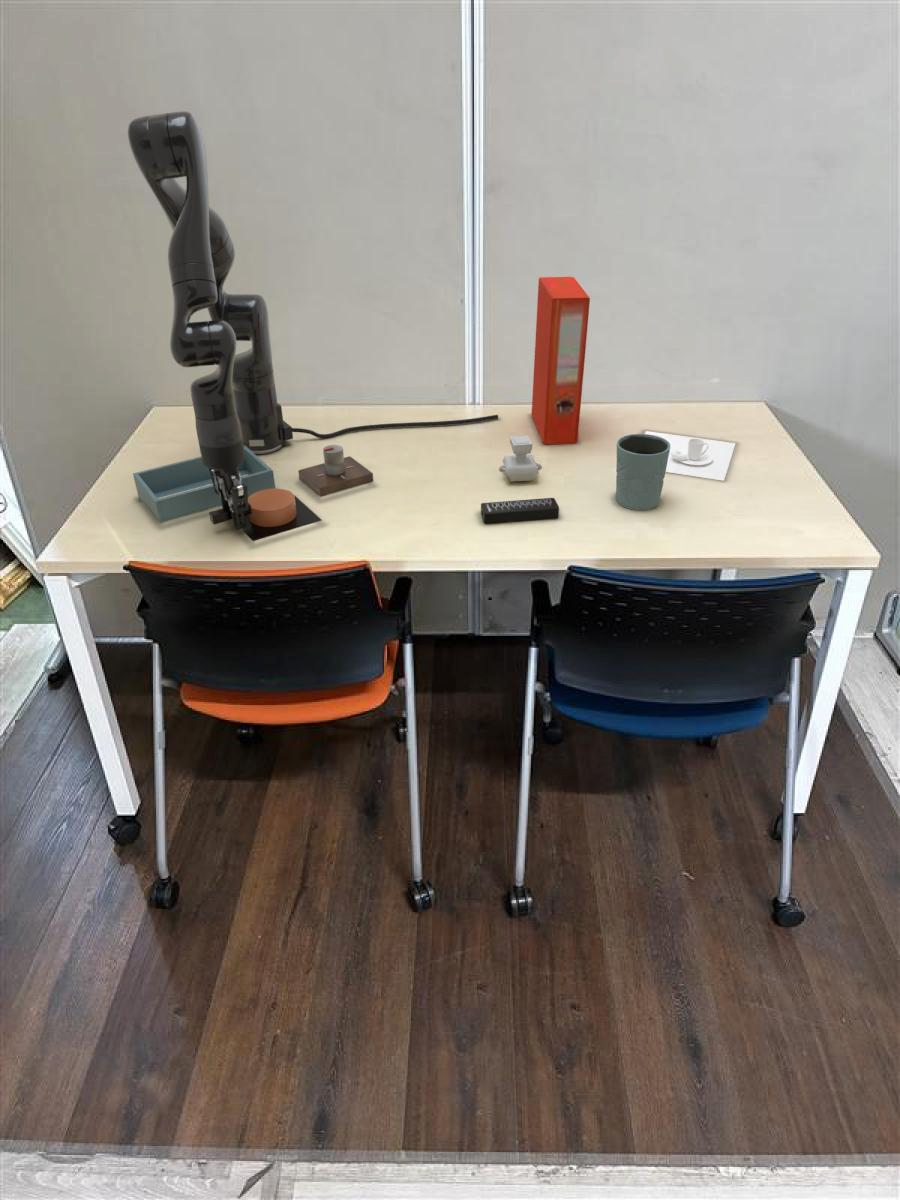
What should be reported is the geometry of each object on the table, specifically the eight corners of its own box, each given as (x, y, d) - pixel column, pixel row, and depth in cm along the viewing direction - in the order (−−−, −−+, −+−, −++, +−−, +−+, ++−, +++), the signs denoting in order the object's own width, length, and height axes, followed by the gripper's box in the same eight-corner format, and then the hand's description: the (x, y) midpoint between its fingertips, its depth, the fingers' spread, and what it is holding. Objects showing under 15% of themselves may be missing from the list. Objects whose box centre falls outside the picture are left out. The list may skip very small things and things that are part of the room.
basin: (248, 469, 184) (245, 445, 181) (276, 495, 174) (272, 470, 170) (138, 498, 173) (132, 473, 170) (161, 527, 163) (155, 501, 160)
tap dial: (339, 465, 178) (337, 441, 175) (348, 472, 175) (346, 448, 172) (322, 470, 176) (319, 446, 173) (330, 477, 173) (328, 453, 170)
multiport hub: (559, 518, 164) (559, 507, 163) (484, 524, 162) (484, 513, 161) (553, 507, 167) (554, 497, 166) (480, 513, 166) (480, 502, 165)
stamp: (500, 486, 176) (501, 447, 171) (496, 472, 181) (497, 434, 176) (544, 483, 176) (546, 445, 171) (538, 469, 182) (540, 432, 177)
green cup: (631, 516, 164) (638, 458, 157) (600, 495, 172) (605, 439, 165) (673, 504, 168) (682, 447, 161) (641, 484, 175) (648, 429, 169)
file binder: (564, 414, 207) (573, 276, 189) (578, 443, 193) (590, 297, 175) (531, 415, 206) (537, 277, 188) (543, 444, 192) (550, 298, 174)
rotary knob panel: (351, 468, 183) (349, 455, 181) (373, 486, 176) (372, 472, 175) (299, 483, 178) (298, 469, 176) (321, 501, 171) (319, 487, 169)
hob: (292, 497, 173) (291, 492, 172) (322, 525, 163) (322, 520, 162) (225, 516, 166) (224, 511, 166) (253, 546, 157) (252, 541, 156)
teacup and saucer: (667, 463, 183) (670, 445, 181) (674, 448, 189) (676, 431, 187) (709, 469, 180) (712, 451, 178) (715, 454, 187) (718, 437, 184)
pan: (285, 500, 169) (282, 482, 167) (304, 518, 163) (302, 500, 161) (205, 523, 162) (201, 504, 160) (222, 543, 156) (219, 524, 153)
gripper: (255, 445, 147) (269, 532, 157) (225, 419, 157) (239, 502, 167) (213, 456, 144) (230, 544, 154) (185, 428, 154) (202, 513, 163)
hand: (235, 522), depth 160 cm, fingers open, 4 cm apart
